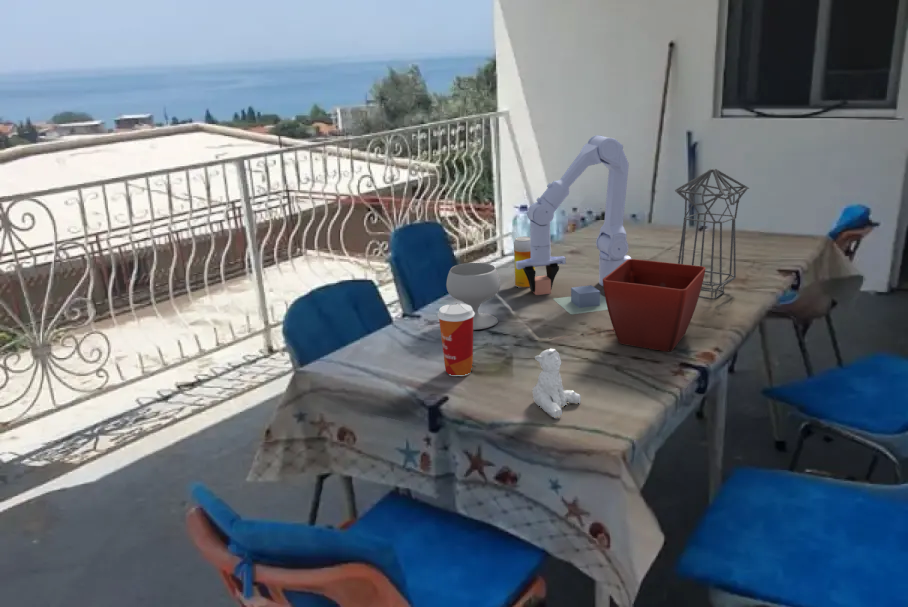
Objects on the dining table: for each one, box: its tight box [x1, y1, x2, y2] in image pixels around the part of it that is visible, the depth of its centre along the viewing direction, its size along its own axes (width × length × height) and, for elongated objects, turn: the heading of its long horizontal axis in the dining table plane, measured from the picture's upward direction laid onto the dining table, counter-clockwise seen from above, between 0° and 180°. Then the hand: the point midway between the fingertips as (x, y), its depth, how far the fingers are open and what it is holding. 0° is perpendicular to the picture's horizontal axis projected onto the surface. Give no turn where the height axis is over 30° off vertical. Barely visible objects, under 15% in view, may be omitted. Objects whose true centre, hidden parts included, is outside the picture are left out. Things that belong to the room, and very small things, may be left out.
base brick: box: [570, 284, 601, 308], centre depth 196 cm, size 6×6×4 cm
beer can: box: [513, 236, 536, 289], centre depth 213 cm, size 6×6×15 cm
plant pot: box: [602, 258, 707, 352], centre depth 169 cm, size 19×19×17 cm
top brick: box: [532, 274, 552, 296], centre depth 207 cm, size 4×4×5 cm
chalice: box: [445, 262, 501, 331], centre depth 186 cm, size 14×14×15 cm
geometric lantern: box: [674, 168, 750, 300], centre depth 196 cm, size 16×16×35 cm
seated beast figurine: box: [531, 348, 582, 419], centre depth 140 cm, size 10×9×12 cm
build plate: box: [552, 293, 608, 315], centre depth 196 cm, size 14×14×1 cm
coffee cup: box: [436, 303, 475, 375], centre depth 157 cm, size 8×8×15 cm
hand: (541, 289), depth 207 cm, fingers closed on top brick, 4 cm apart
